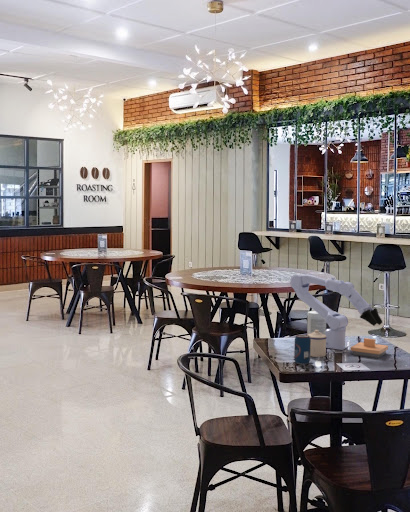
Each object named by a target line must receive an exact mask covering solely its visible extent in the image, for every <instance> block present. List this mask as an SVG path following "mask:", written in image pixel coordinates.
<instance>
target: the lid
mask: <svg viewBox="0 0 410 512" xmlns="http://www.w3.org/2000/svg"><path fill="white" fill-rule="evenodd" d="M388 349H389V345H386V344H376V339H375V338H367V337H364V338H363V341H359V342H357V343H355V344H354V345H352V346H350V351H352V352H353V351H358V352H365V353H373V354H381V353H382V352H384V351H386V352H387V350H388Z"/></svg>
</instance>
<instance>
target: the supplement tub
mask: <svg viewBox="0 0 410 512" xmlns="http://www.w3.org/2000/svg"><path fill="white" fill-rule="evenodd" d="M306 320H307V325H306V326H307V334H306V335H308V334H311V333H313V332H315V330H319V332H320V333H322V334H324V335H325V332H326V330H327V323H326V322H325V318H324V317H322V316H321V315H320V314H318V313H317V312H316V311H315V310H310V311H307V319H306Z"/></svg>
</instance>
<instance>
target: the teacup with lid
mask: <svg viewBox="0 0 410 512" xmlns="http://www.w3.org/2000/svg"><path fill="white" fill-rule="evenodd" d="M308 335H309V337H310V339H311V349H310V357H311V358H312V357H313V358H322V357H326V353H327V349H326V338H327V337H326V335H324V334H322V333H320V332H319V330H315V332H313V333H311V334H308Z"/></svg>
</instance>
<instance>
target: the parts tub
mask: <svg viewBox="0 0 410 512" xmlns="http://www.w3.org/2000/svg"><path fill="white" fill-rule="evenodd" d="M385 354H387V350H386V351H384V352H382V353H381V354H373V353H365V352H358V351H352V355H353V356H359V357H367V358H372V359H373V358H374V359H379V358H381V357H382V356H384V355H385Z"/></svg>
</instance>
